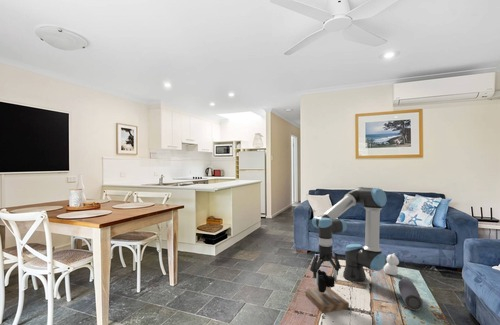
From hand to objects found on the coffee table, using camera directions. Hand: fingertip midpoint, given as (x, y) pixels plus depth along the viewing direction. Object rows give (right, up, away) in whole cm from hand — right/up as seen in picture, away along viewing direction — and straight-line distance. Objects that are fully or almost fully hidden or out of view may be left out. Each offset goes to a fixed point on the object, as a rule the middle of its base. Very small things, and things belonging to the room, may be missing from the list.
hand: (325, 282), depth 149 cm
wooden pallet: (0, -11, 0) cm, 11 cm away
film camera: (0, -3, +1) cm, 3 cm away
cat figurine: (+60, -13, +40) cm, 73 cm away
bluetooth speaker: (+48, -11, -2) cm, 49 cm away
